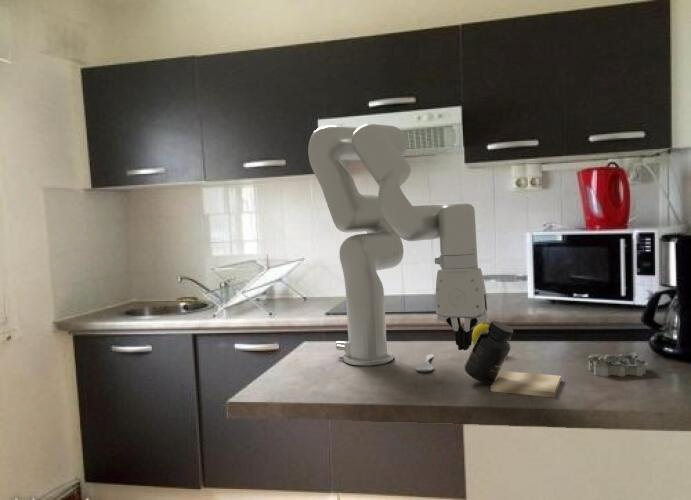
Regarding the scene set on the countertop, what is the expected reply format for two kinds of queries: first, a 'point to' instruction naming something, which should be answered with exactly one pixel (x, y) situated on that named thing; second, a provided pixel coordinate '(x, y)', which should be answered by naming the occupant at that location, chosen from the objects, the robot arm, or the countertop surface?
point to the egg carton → (617, 364)
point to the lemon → (479, 331)
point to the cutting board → (527, 384)
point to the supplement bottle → (489, 353)
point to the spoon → (426, 364)
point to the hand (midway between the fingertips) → (464, 348)
